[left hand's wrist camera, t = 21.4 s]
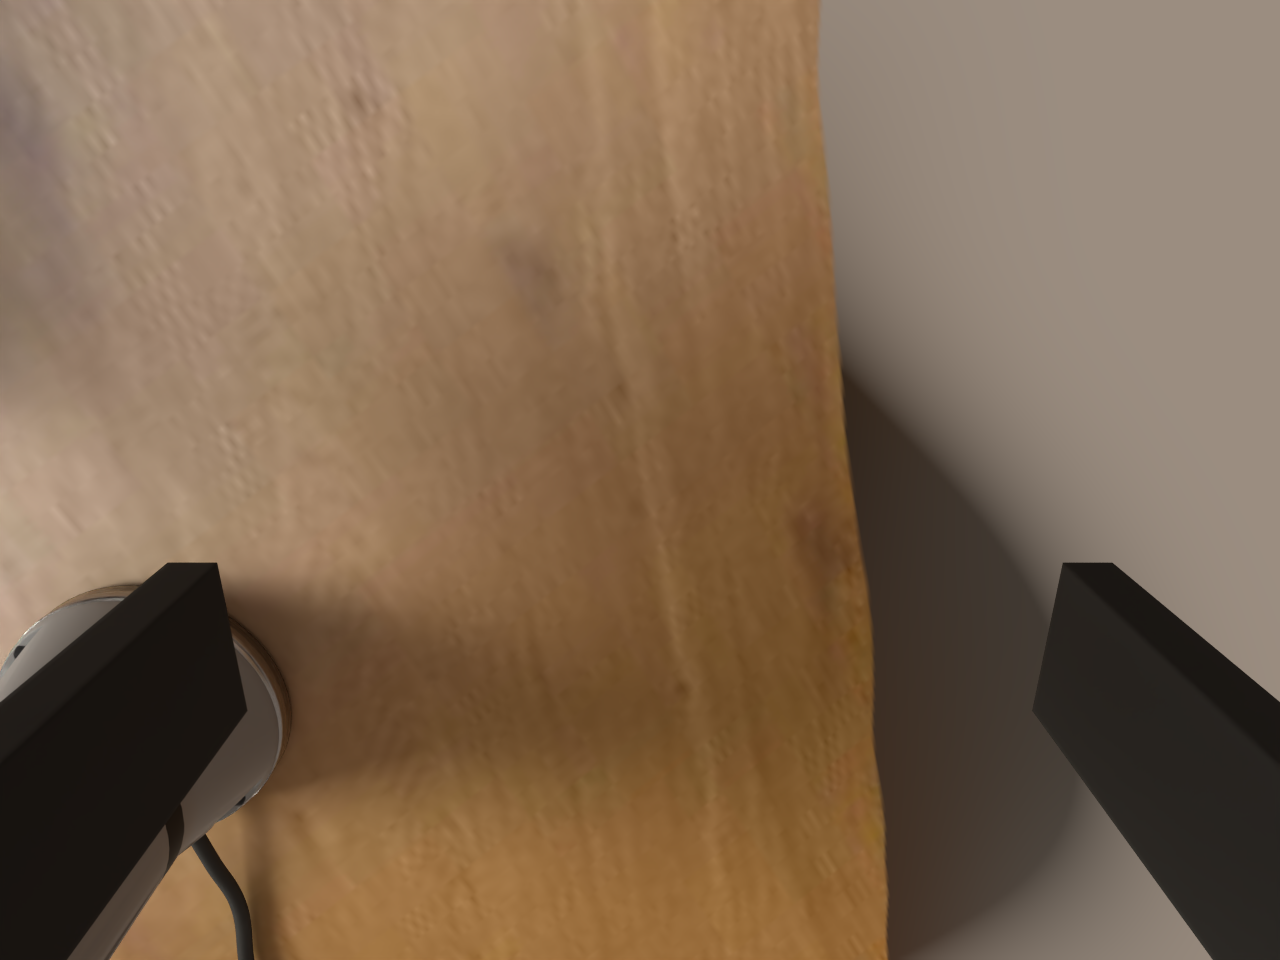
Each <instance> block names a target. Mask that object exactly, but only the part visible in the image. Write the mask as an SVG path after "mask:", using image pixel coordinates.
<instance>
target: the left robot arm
mask: <svg viewBox="0 0 1280 960" xmlns="http://www.w3.org/2000/svg"><path fill="white" fill-rule="evenodd" d="M1032 711H1033V712H1034V714H1035V715H1036V716H1037V718H1038V719H1039V721H1040V722H1041V723H1042V725H1043V726H1044V727H1045V729H1046V730H1047V732H1048V733H1049V734H1050V736H1051V737H1052V739H1053V740H1054V741H1055V743H1056V744H1057V745H1058V747H1059V748H1060V750H1061V751H1062V752H1063V754H1064V755H1065V756H1066V758H1067V759H1068V761H1069V762H1070V763H1071V765H1072V766H1073V767H1074V769H1075V770H1076V772H1077V773H1078V774H1079V776H1080V777H1081V779H1082V780H1083V781H1084V783H1085V784H1086V785H1087V787H1088V788H1089V790H1090V791H1091V792H1092V794H1093V795H1094V796H1095V798H1096V799H1097V801H1098V802H1099V803H1100V805H1101V806H1102V807H1103V809H1104V810H1105V811H1106V813H1107V814H1108V816H1109V817H1110V818H1111V820H1112V821H1113V823H1114V824H1115V825H1116V827H1117V828H1118V830H1119V831H1120V832H1121V834H1122V835H1123V836H1124V838H1125V839H1126V841H1127V842H1128V843H1129V845H1130V846H1131V847H1132V849H1133V850H1134V852H1135V853H1136V854H1137V856H1138V857H1139V859H1140V860H1141V861H1142V863H1143V864H1144V865H1145V867H1146V868H1147V870H1148V871H1149V872H1150V874H1151V875H1152V876H1153V878H1154V879H1155V881H1156V882H1157V883H1158V885H1159V886H1160V887H1161V889H1162V890H1163V892H1164V893H1165V894H1166V896H1167V897H1168V898H1169V900H1170V901H1171V903H1172V904H1173V905H1174V907H1175V908H1176V910H1177V911H1178V912H1179V914H1180V915H1181V916H1182V918H1183V919H1184V921H1185V922H1186V923H1187V925H1188V926H1189V927H1190V929H1191V930H1192V931H1193V933H1194V934H1195V936H1196V937H1197V938H1198V940H1199V941H1200V943H1201V944H1202V945H1203V947H1204V948H1205V950H1206V951H1207V952H1208V954H1209V955H1210V956H1211V958H1212V959H1213V960H1280V702H1279V701H1278V700H1277V699H1275V698H1274V697H1273V696H1272V695H1271V694H1269V693H1268V692H1267V691H1266V690H1265V689H1263V688H1262V687H1261V686H1260V685H1259V684H1257V683H1256V682H1255V681H1254V680H1253V679H1251V678H1250V677H1249V676H1248V675H1247V674H1245V673H1244V672H1243V671H1242V670H1241V669H1239V668H1238V667H1237V666H1236V665H1235V664H1233V663H1232V662H1231V661H1230V660H1228V659H1227V658H1226V657H1225V656H1224V655H1223V654H1221V653H1220V652H1219V651H1218V650H1217V649H1215V648H1214V647H1213V646H1212V645H1211V644H1209V643H1208V642H1207V641H1206V640H1205V639H1203V638H1202V637H1201V636H1200V635H1199V634H1197V633H1196V632H1195V631H1194V630H1192V629H1191V628H1190V627H1189V626H1188V625H1186V624H1185V623H1184V622H1183V621H1182V620H1180V619H1179V618H1178V617H1177V616H1176V615H1174V614H1173V613H1172V612H1171V611H1170V610H1168V609H1167V608H1166V607H1165V606H1164V605H1162V604H1161V603H1160V602H1159V601H1158V600H1156V599H1155V598H1154V597H1153V596H1152V595H1150V594H1149V593H1148V592H1147V591H1146V590H1144V589H1143V588H1142V587H1141V586H1139V585H1138V584H1137V583H1136V582H1135V581H1134V580H1132V579H1131V578H1130V577H1129V576H1128V575H1126V574H1125V573H1124V572H1123V571H1122V570H1120V569H1119V568H1118V567H1117V566H1116V565H1114V564H1113V563H1063V565H1062V570H1061V574H1060V579H1059V584H1058V589H1057V594H1056V599H1055V604H1054V608H1053V613H1052V618H1051V623H1050V628H1049V633H1048V638H1047V642H1046V647H1045V652H1044V657H1043V662H1042V667H1041V671H1040V676H1039V681H1038V686H1037V691H1036V696H1035V700H1034V705H1033V710H1032ZM290 729H291V708H290V701H289V697H288V693H287V689H286V687H285V684H284V681H283V679H282V677H281V675H280V672H279V670H278V669H277V667H276V665H275V664H274V662H273V660H272V659H271V657H270V656H269V655H268V653H267V652H266V651H265V649H264V648H263V647H262V646H261V645H260V644H259V642H258V641H257V640H256V639H255V638H254V637H253V636H252V635H251V634H250V633H249V632H248V631H246V630H245V629H244V628H243V627H242V626H240V625H239V624H238V623H237V622H235V621H234V620H233V619H231V618H230V617H228V613H227V608H226V604H225V599H224V594H223V589H222V584H221V579H220V574H219V570H218V565H217V563H167V564H166V565H164V566H163V567H162V568H161V569H160V570H158V571H157V572H156V573H155V574H154V575H152V576H151V577H150V578H149V579H148V580H146V581H145V582H144V583H143V584H142V585H140V586H114V587H106V588H101V589H96V590H92V591H89V592H86V593H83V594H80V595H78V596H76V597H73V598H71V599H69V600H67V601H66V602H64V603H63V604H61V605H59V606H58V607H56V608H55V609H54V610H52V611H51V612H50V613H48V614H47V615H46V616H44V617H43V618H42V619H40V620H39V621H38V622H37V623H35V624H34V625H33V626H32V627H30V628H29V629H28V630H27V632H26V633H25V634H24V635H23V636H22V637H21V638H20V640H19V641H18V642H17V644H16V645H15V646H14V648H13V649H12V650H11V652H10V653H9V655H8V657H7V659H6V661H5V663H4V664H3V666H2V669H1V671H0V960H109V959H110V958H111V956H112V955H113V953H114V952H115V950H116V949H117V947H118V946H119V944H120V943H121V941H122V939H123V938H124V936H125V935H126V933H127V932H128V930H129V929H130V927H131V926H132V924H133V923H134V921H135V920H136V918H137V917H138V915H139V914H140V912H141V910H142V909H143V907H144V906H145V904H146V903H147V901H148V900H149V898H150V897H151V895H152V894H153V892H154V891H155V889H156V888H157V886H158V885H159V883H160V882H161V880H162V879H163V877H164V876H165V874H166V873H167V871H168V870H169V868H170V867H171V865H172V864H173V862H174V861H175V859H176V858H177V856H178V855H180V854H181V853H182V852H183V851H185V850H186V849H187V848H189V847H190V846H192V847H193V849H194V851H195V852H196V854H197V856H198V857H199V859H200V860H201V862H202V864H203V865H204V867H205V868H206V870H207V872H208V873H209V874H210V876H211V877H212V879H213V880H214V881H215V883H216V884H217V885H218V887H219V888H220V889H221V891H222V892H223V894H224V895H225V897H226V899H227V900H228V903H229V905H230V908H231V910H232V914H233V917H234V922H235V929H236V940H237V954H238V960H254V954H253V942H252V927H251V919H250V914H249V910H248V906H247V903H246V900H245V898H244V895H243V893H242V891H241V889H240V887H239V885H238V884H237V882H236V881H235V879H234V878H233V876H232V875H231V873H230V872H229V871H228V869H227V868H226V866H225V865H224V864H223V862H222V861H221V859H220V857H219V856H218V854H217V853H216V851H215V849H214V847H213V846H212V844H211V842H210V841H209V839H208V837H207V836H206V833H207V832H208V831H209V830H210V829H211V828H212V827H213V825H214V824H215V823H216V822H218V821H221V820H223V819H224V818H226V817H228V816H229V815H231V814H233V813H234V812H236V811H237V810H238V809H239V808H241V807H242V806H243V805H244V804H246V803H247V802H248V801H249V800H250V799H251V798H252V797H253V796H254V795H255V794H256V793H257V792H258V791H259V790H260V789H261V788H262V787H263V785H264V784H265V783H266V781H267V780H268V778H269V777H270V775H271V774H272V772H273V770H274V769H275V767H276V765H277V764H278V762H279V760H280V759H281V757H282V755H283V753H284V751H285V748H286V746H287V743H288V739H289V735H290Z"/></svg>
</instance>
